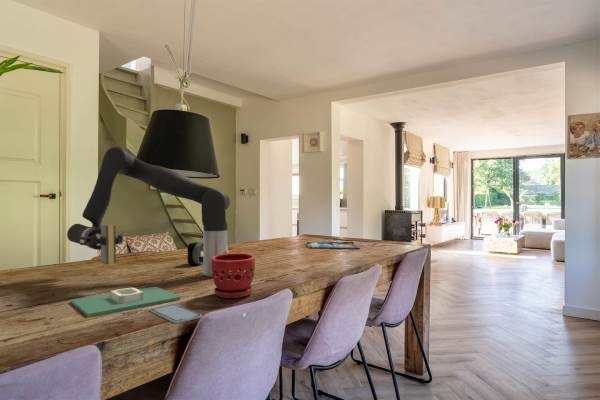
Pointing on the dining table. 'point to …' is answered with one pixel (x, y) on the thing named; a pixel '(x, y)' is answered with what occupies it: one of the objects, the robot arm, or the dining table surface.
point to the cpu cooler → (195, 253)
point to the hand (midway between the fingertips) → (111, 241)
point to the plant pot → (233, 274)
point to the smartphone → (176, 313)
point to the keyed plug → (108, 244)
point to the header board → (123, 300)
